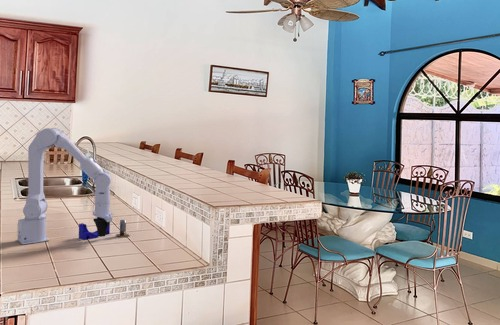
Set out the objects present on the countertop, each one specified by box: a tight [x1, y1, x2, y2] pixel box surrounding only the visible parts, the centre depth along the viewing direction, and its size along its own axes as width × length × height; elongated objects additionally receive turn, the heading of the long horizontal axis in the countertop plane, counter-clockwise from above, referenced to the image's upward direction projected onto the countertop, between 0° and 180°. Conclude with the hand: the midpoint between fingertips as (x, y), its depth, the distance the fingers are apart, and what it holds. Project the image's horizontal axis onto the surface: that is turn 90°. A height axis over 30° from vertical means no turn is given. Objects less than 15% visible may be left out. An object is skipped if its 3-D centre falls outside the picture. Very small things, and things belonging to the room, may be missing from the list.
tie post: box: [115, 219, 130, 239], centre depth 166 cm, size 4×4×7 cm
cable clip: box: [78, 222, 111, 241], centre depth 163 cm, size 12×4×6 cm, turn 142°
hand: (101, 236), depth 159 cm, fingers closed
